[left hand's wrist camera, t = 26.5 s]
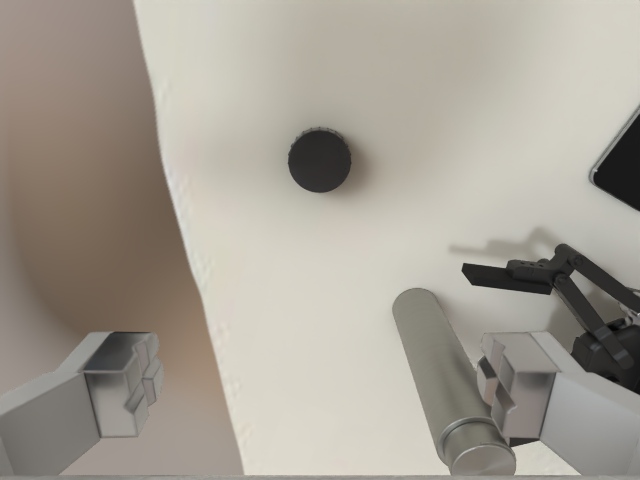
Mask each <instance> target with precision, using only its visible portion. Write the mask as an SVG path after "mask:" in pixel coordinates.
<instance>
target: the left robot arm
mask: <svg viewBox="0 0 640 480" xmlns="http://www.w3.org/2000/svg"><path fill="white" fill-rule="evenodd" d="M158 349H159V342H158V337H157V335H156V334H155V333H153V332H112V331H109V332H92V333H89V334H88V335H87V336H86V338H85V339H84V340H83V341H82V342H81V343H80V344H79V345H78V346H77V348H76V349H75V350H74V351H73V352H72V353H71V354H70V355H69V356H68V357H67V358H66V359H65V361H64V362H63V363H62V364H61V365H60V366H59V367H58V368H57V369H56V370H55V372H54V373H45V374H43V375H41V376H39V377H37V378H35V379H33V380H31V381H29V382H27V383H24V384H22V385H20V386H18V387H16V388H14V389H12V390H10V391H8V392H6V393H4V394H2V395H0V480H640V395H638V394H636V393H634V392H632V391H630V390H628V389H626V388H624V387H622V386H620V385H618V384H616V383H613V382H611V381H609V380H607V379H605V378H603V377H601V376H599V375H597V374H595V373H586V372H585V370H584V369H583V368H582V367H581V366H580V365H579V364H578V363H577V362H576V361H575V359H574V358H573V357H572V356H571V355H570V354H569V353H568V352H567V351H566V350H565V349H564V347H563V346H562V345H561V344H560V343H559V342H558V341H557V340H556V339H555V338H554V336H553V335H552V334H551V333H548V332H546V331H539V332H513V333H484V335H483V337H482V341H481V349H482V351H483V353H484V354H485V356H484V357H483V358H482V359H481V360H480V361H479V362H478V365H477V373H476V374H477V385H478V389H479V392H480V395H481V397H482V399H483V401H484V402H486V403H487V404H489V405H490V406H491V407H492V411H491V417H492V419H493V420H494V422H495V424H496V426H497V428H498V430H499V432H500V434H501V436H502V437H511V438H540V441H541V442H543V443H544V444H545V445H546V446H547V447H549V448H550V449H551V450H552V451H553V452H555V453H556V454H557V455H558V456H560V457H561V458H562V459H563V460H564V461H566V462H567V463H568V464H569V465H570V466H572V467H573V468H574V469H575V470H576V471H578V472H579V473H580V474H581V475H59V474H60V473H61V472H62V471H64V470H65V469H66V468H67V467H68V466H70V465H71V464H72V463H73V462H75V461H76V460H77V459H78V458H79V457H81V456H82V455H83V454H84V453H85V452H87V451H88V450H89V449H90V448H92V447H93V446H94V445H95V444H96V443H98V442H99V441H100V438H128V437H138V436H139V434H140V432H141V430H142V428H143V426H144V424H145V422H146V420H147V419H148V417H149V411H148V407H149V406H150V405H151V404H153V403H154V402H156V401H157V399H158V397H159V394H160V392H161V388H162V384H163V365H162V362H161V361H160V360H159V359H158V358H157V357H156V356H155V354H156V353H157V351H158Z"/></svg>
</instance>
